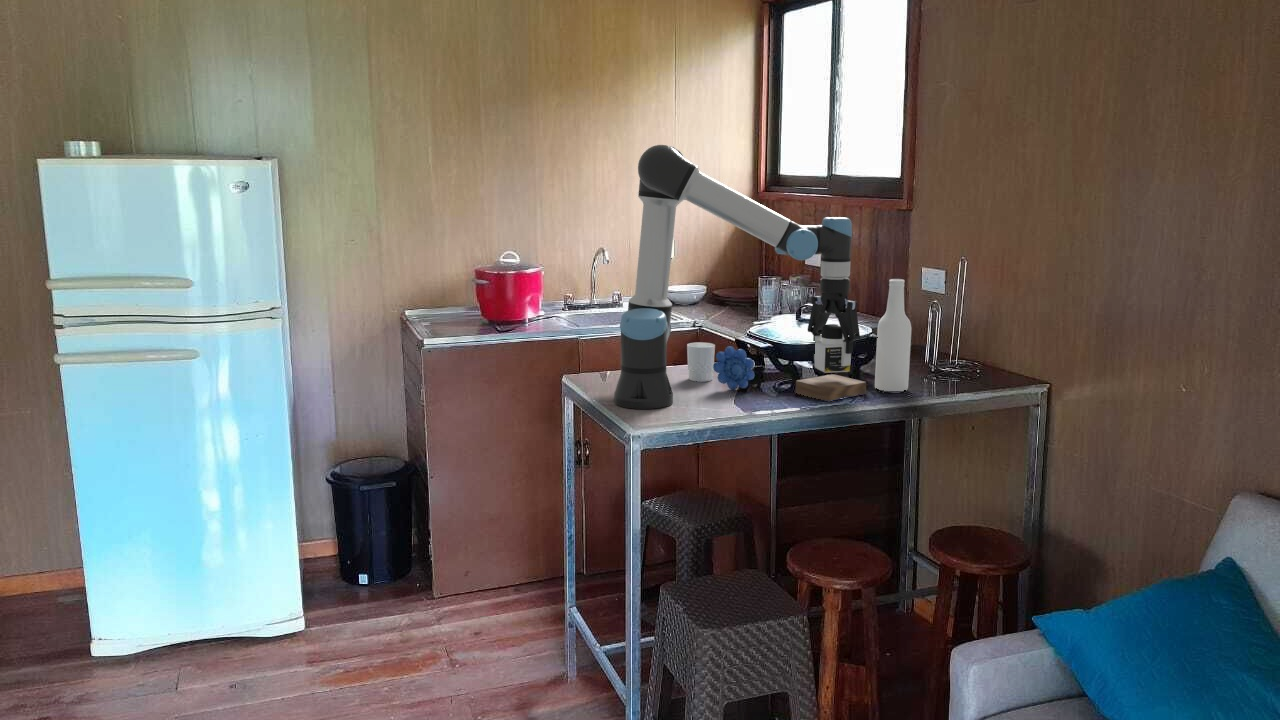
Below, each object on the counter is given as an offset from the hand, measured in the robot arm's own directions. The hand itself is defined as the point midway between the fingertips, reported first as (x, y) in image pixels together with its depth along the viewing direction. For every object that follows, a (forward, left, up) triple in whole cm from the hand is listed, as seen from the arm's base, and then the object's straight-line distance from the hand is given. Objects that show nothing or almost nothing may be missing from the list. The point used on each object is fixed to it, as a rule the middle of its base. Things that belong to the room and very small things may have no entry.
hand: (832, 362), depth 251 cm
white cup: (-17, +34, -9) cm, 39 cm away
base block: (0, 0, -9) cm, 9 cm away
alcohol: (+17, -6, -9) cm, 20 cm away
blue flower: (-18, +18, -9) cm, 27 cm away
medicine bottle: (0, 0, -2) cm, 2 cm away
